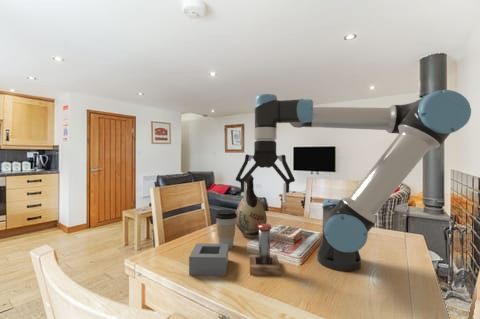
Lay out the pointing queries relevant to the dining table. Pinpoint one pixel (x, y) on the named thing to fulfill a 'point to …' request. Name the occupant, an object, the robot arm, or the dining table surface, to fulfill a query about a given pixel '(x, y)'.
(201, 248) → the block
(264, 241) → the lock pin
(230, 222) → the coffee cup
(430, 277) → the dining table surface
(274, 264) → the mount collar
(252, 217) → the ceramic jug
